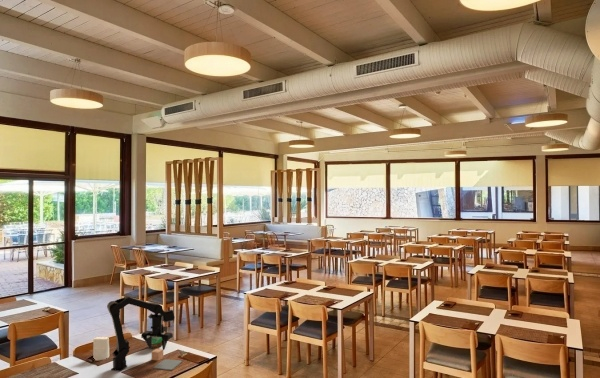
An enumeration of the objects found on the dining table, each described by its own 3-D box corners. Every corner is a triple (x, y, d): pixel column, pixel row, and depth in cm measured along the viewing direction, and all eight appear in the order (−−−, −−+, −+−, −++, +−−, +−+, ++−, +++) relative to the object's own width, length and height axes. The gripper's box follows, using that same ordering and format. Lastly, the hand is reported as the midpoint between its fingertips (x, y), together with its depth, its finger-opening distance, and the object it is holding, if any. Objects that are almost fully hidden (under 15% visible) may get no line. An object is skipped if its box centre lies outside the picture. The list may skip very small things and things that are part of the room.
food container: (145, 350, 263) (144, 335, 263) (145, 347, 269) (144, 332, 269) (165, 347, 268) (164, 332, 268) (164, 344, 273) (164, 329, 273)
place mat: (153, 368, 237) (153, 367, 237) (165, 360, 248) (165, 359, 248) (171, 370, 234) (171, 369, 234) (182, 361, 245) (182, 360, 245)
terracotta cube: (151, 360, 249) (151, 351, 249) (156, 356, 254) (156, 348, 254) (158, 360, 248) (158, 352, 248) (163, 357, 253) (163, 349, 253)
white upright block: (112, 354, 258) (111, 335, 258) (104, 360, 249) (103, 341, 249) (98, 354, 259) (98, 335, 259) (90, 360, 250) (89, 340, 250)
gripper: (177, 320, 256) (177, 345, 256) (151, 318, 261) (151, 343, 261) (167, 326, 245) (167, 352, 245) (140, 324, 250) (140, 349, 250)
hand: (157, 349), depth 251 cm, fingers open, 9 cm apart
